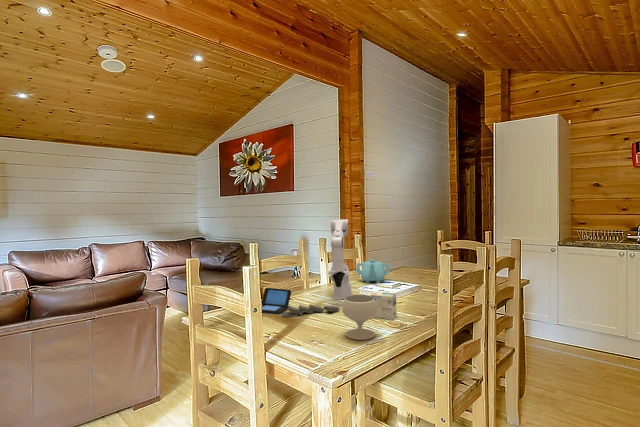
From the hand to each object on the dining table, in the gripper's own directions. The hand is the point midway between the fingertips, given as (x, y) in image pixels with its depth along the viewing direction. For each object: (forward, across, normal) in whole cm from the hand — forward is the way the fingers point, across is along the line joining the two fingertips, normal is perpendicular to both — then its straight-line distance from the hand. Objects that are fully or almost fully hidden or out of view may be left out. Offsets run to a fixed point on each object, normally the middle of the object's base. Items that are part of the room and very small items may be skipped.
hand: (338, 286), depth 192 cm
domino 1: (+10, +23, -10) cm, 26 cm away
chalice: (+10, +29, +29) cm, 43 cm away
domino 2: (+9, +20, -8) cm, 24 cm away
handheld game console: (+10, +22, -26) cm, 35 cm away
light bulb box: (+10, +3, +27) cm, 29 cm away
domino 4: (+9, +12, -2) cm, 15 cm away
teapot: (+10, -56, -10) cm, 58 cm away
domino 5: (+9, +7, +3) cm, 12 cm away
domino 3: (+9, +16, -5) cm, 19 cm away
